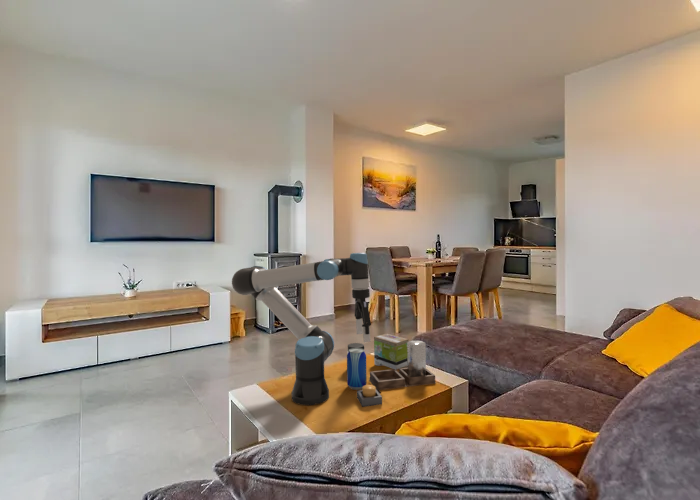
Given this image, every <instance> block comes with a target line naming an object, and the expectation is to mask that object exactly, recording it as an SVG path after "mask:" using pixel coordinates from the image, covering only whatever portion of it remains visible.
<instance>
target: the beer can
mask: <svg viewBox="0 0 700 500" xmlns="http://www.w3.org/2000/svg"><path fill="white" fill-rule="evenodd" d="M364 351H365V348H364V349H361V348H352V349H350V350H349V352H348V354H346V366H347V367H346V379H347V381H346V383H347V386H348V388H349V389H351V390H354V391H355V390H356V391H359V390H363V386H365V385H368V383H367V377H368V376H367V354H366V351H365V352H364Z"/></svg>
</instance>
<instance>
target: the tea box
mask: <svg viewBox="0 0 700 500" xmlns="http://www.w3.org/2000/svg"><path fill="white" fill-rule="evenodd" d="M409 341H410V340H409V339H408V338H405V337H401V336H398V335H394V334H391V333H383V334H380V335H376V336H374V338H373V349H374V351H373V353H374V354H373V357H374V360H373V361H374V362H373V363H374V365H375V366H378V367H382V366H384V367H387V368H390V369H395V370H396V371H398V370H399V369H400V368H406V367H408V364H407V342H409Z"/></svg>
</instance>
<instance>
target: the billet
mask: <svg viewBox="0 0 700 500" xmlns="http://www.w3.org/2000/svg"><path fill="white" fill-rule="evenodd" d="M408 341H409V342H407V364H408V365H407V368H408V375H409V376H410V377H418V376H426V369H427V367H426V366H427V364H426V361H427V360H426V359H427V357H426V355H427V353H426V351H427V349H426V346H427V345H426V342H425V341H422V340H408Z"/></svg>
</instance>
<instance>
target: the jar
mask: <svg viewBox="0 0 700 500" xmlns="http://www.w3.org/2000/svg"><path fill="white" fill-rule="evenodd" d="M352 348H361V349H364V352H365V353H366V350H365V344H363V343H360V342H352V343H349V344H347V350H346V351H347V354H348V352H349V350H350V349H352ZM347 354H346V355H347Z"/></svg>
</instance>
